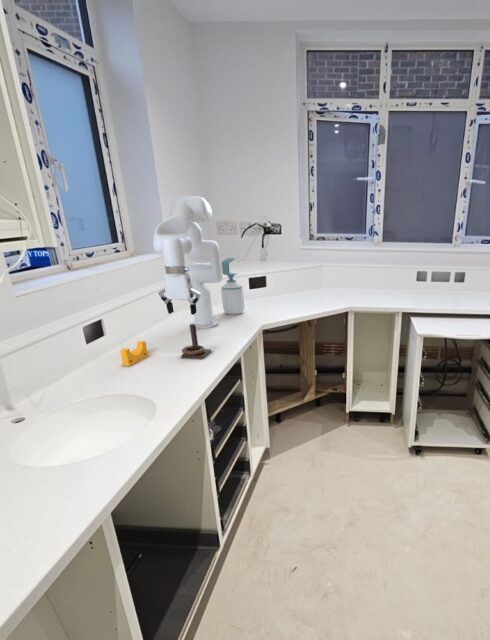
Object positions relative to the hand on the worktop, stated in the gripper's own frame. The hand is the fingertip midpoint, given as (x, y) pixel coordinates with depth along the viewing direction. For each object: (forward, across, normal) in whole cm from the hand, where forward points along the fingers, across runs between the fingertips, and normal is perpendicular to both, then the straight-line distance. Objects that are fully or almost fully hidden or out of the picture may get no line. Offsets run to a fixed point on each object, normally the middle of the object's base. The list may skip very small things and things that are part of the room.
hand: (182, 313), depth 163 cm
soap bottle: (+19, +6, -74) cm, 76 cm away
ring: (+16, -3, 0) cm, 16 cm away
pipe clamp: (+18, +18, +10) cm, 28 cm away
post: (+18, -4, 0) cm, 18 cm away
